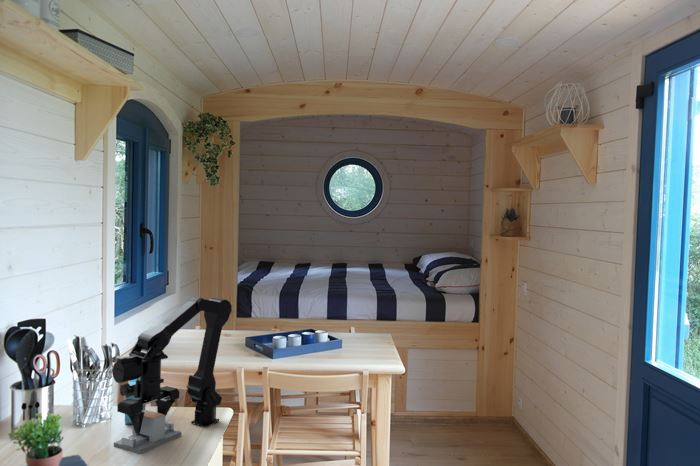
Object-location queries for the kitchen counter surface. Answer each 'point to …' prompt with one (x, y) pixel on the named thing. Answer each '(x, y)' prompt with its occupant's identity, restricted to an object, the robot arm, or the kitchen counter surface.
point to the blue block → (132, 382)
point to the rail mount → (146, 440)
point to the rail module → (152, 425)
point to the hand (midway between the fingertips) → (148, 429)
